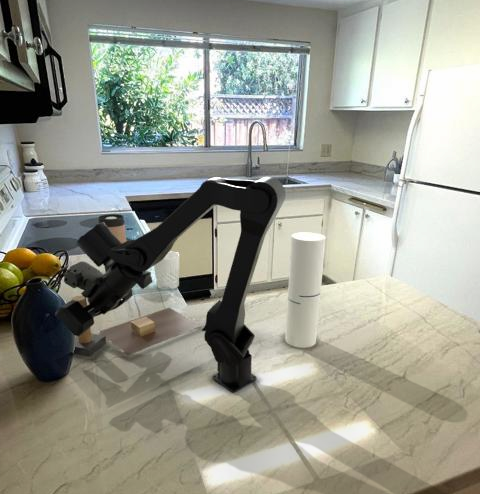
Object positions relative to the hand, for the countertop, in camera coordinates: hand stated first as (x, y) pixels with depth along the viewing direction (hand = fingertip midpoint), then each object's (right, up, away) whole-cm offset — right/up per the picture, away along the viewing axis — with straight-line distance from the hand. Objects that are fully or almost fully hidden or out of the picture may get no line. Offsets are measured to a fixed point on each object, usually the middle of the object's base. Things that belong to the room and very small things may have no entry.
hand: (77, 324), depth 86 cm
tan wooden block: (+12, -2, +9) cm, 15 cm away
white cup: (+13, +8, +38) cm, 41 cm away
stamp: (+1, -6, +2) cm, 7 cm away
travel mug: (-5, +11, +45) cm, 46 cm away
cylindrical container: (+49, -5, +8) cm, 50 cm away
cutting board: (+14, -3, +10) cm, 17 cm away
